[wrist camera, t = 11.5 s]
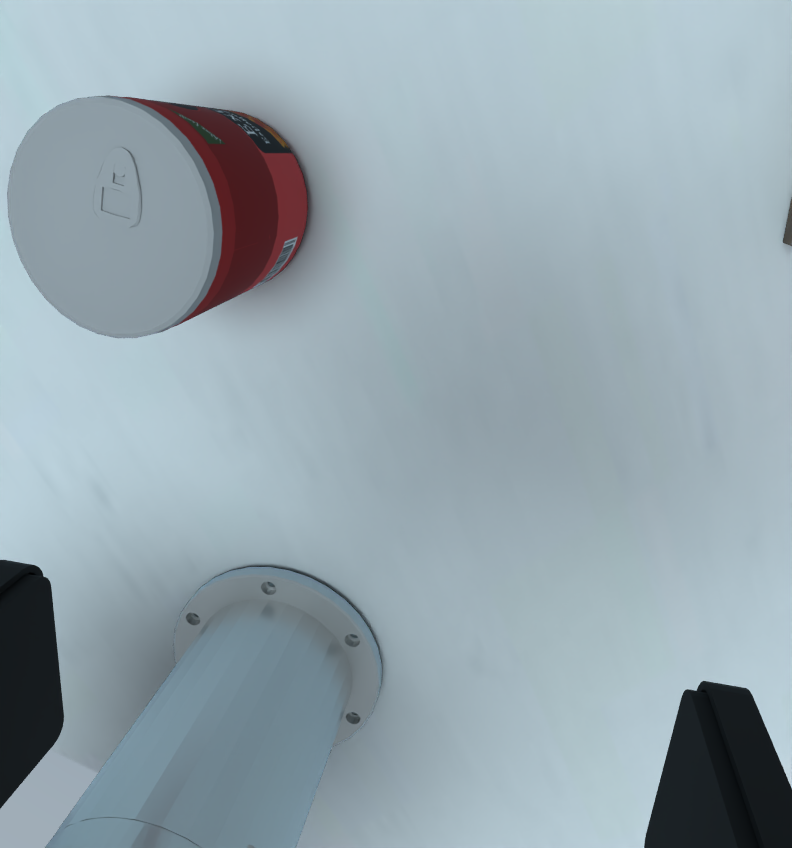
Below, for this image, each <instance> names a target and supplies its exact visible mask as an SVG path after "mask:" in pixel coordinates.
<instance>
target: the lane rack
mask: <svg viewBox="0 0 792 848" xmlns="http://www.w3.org/2000/svg"><path fill="white" fill-rule="evenodd" d="M783 243H786V244H788V245H791V246H792V199H791V204H790V209H789V214H788V219H787V224H786V229H785V235H784V240H783Z"/></svg>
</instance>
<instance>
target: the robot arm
mask: <svg viewBox="0 0 792 848" xmlns="http://www.w3.org/2000/svg"><path fill="white" fill-rule="evenodd" d="M173 646H174V655H175V662H176V666H175V667H174V669H173V670H172V671H171V673H170V674H169V676H168V677H167V678H166V680H165V681H164V683H163V684H162V685H161V687H160V688H159V689H158V691H157V692H156V694H155V695H154V696H153V698H152V699H151V701H150V702H149V703H148V705H147V706H146V708H145V709H144V710H143V712H142V713H141V715H140V716H139V717H138V719H137V720H136V721H135V723H134V724H133V726H132V727H131V728H130V730H129V731H128V733H127V734H126V735H125V737H124V738H123V740H122V741H121V742H120V744H119V745H118V747H117V748H116V749H115V751H114V752H113V753H112V755H111V756H110V758H109V759H108V760H107V762H106V763H105V765H104V766H103V767H102V769H101V770H100V772H99V773H98V774H97V776H96V777H95V779H94V780H93V781H92V783H91V784H90V786H89V787H88V788H87V790H86V791H85V793H84V794H83V795H82V797H81V798H80V799H79V801H78V802H77V804H76V805H75V806H74V808H73V809H72V811H71V812H70V814H69V815H68V816H67V818H66V819H65V820H64V822H63V823H62V825H61V827H60V828H59V829H58V831H57V832H56V834H55V835H54V836H53V838H52V839H51V840H50V842H49V843H48V844H47V846H46V847H45V848H296V846H297V843H298V840H299V837H300V835H301V832H302V829H303V826H304V823H305V821H306V818H307V815H308V812H309V809H310V807H311V804H312V801H313V798H314V796H315V793H316V790H317V787H318V784H319V782H320V779H321V776H322V773H323V770H324V768H325V765H326V762H327V759H328V756H329V754H330V751H331V748H332V747H333V746H336V745H338V744H340V743H341V742H343V741H345V740H347V739H349V738H351V737H352V736H353V735H354V734H355V733H356V732H357V731H359V730H360V729H361V728H362V727H363V726H364V724H365V723H366V721H367V720H368V718H369V717H370V716H371V714H372V712H373V709H374V706H375V704H376V701H377V698H378V694H379V690H380V686H381V682H382V664H381V659H380V655H379V650H378V647H377V644H376V642H375V640H374V638H373V635H372V633H371V631H370V629H369V628H368V626H367V625H366V623H365V622H364V621H363V619H362V618H361V616H360V615H359V614H358V613H357V611H356V610H355V609H354V608H353V607H352V606H351V605H350V604H349V603H348V602H347V601H346V600H345V599H343V598H342V597H341V596H339V595H338V594H337V593H335V592H334V591H333V590H331V589H330V588H329V587H327V586H325V585H323V584H321V583H319V582H318V581H316V580H314V579H312V578H310V577H307V576H304V575H301V574H298V573H295V572H292V571H289V570H284V569H278V568H272V567H247V568H242V569H237V570H232V571H229V572H227V573H224V574H222V575H220V576H217V577H215V578H213V579H212V580H210V581H209V582H208V583H206V584H205V585H203V586H202V587H201V588H200V589H199V590H198V591H197V592H196V594H195V595H194V596H193V597H192V598H191V599H190V601H189V602H188V603H187V605H186V606H185V607H184V609H183V610H182V612H181V614H180V616H179V619H178V622H177V625H176V628H175V634H174V644H173ZM63 722H64V713H63V703H62V693H61V683H60V673H59V662H58V652H57V642H56V632H55V621H54V611H53V601H52V591H51V584H50V581H49V580H48V578H46V577H43V573H42V571H41V570H40V568H39V567H37V566H35V565H30V564H24V563H19V562H13V561H7V560H0V808H1V807H2V806H3V805H4V803H5V802H6V801H7V800H8V798H9V797H10V796H11V795H12V794H13V793H14V791H15V790H16V789H17V788H18V787H19V785H20V784H21V783H22V782H23V781H24V779H25V778H26V777H27V776H28V774H30V772H31V771H32V770H33V769H34V768H35V766H36V765H37V764H38V762H40V760H41V759H42V758H43V757H44V755H45V754H46V753H47V752H48V751H49V750H50V748H51V747H52V746H53V745H54V743H55V742H56V741H57V739H58V737H59V735H60V733H61V730H62V727H63ZM644 848H792V788H791V786H790V784H789V781H788V779H787V777H786V774H785V772H784V769H783V767H782V765H781V762H780V760H779V758H778V755H777V753H776V750H775V748H774V746H773V743H772V741H771V739H770V736H769V734H768V732H767V729H766V727H765V724H764V722H763V720H762V717H761V715H760V713H759V710H758V708H757V705H756V703H755V701H754V698H753V696H752V694H751V693H750V691H749V690H748V689H746V688H742V687H736V686H730V685H724V684H718V683H713V682H707V681H703V682H701V683H700V685H699V686H698V689H697V691H694V690H688V689H687V690H685V691H684V693H683V695H682V698H681V702H680V706H679V710H678V714H677V718H676V721H675V725H674V729H673V733H672V737H671V741H670V744H669V748H668V752H667V756H666V760H665V764H664V768H663V771H662V775H661V779H660V783H659V787H658V791H657V794H656V798H655V802H654V806H653V810H652V814H651V818H650V821H649V825H648V829H647V833H646V838H645V846H644Z"/></svg>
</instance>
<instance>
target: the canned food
mask: <svg viewBox="0 0 792 848" xmlns="http://www.w3.org/2000/svg"><path fill="white" fill-rule="evenodd" d="M7 199H8V218H9V223H10V228H11V233H12V238H13V241H14V244H15V246H16V249H17V252H18V255H19V257H20V260H21V262H22V264H23V266H24V268H25V269H26V271H27V273H28V275H29V277H30V279H31V280H32V282H33V283H34V285H35V286H36V287H37V288H38V290H39V291H40V292H41V294H42V295H43V296H44V298H45V299H46V300H47V301H48V302H49V303H50V304H51V305H52V306H54V307H55V308H56V309H57V310H58V311H59V312H60V313H61V314H62V315H64V316H65V317H67V318H68V319H70V320H71V321H73V322H74V323H76V324H77V325H79V326H81V327H83V328H85V329H88V330H90V331H92V332H95V333H97V334H101V335H105V336H110V337H115V338H138V337H142V336H146V335H151V334H155V333H159V332H163V331H165V330H167V329H169V328H171V327H174V326H177V325H179V324H181V323H183V322H185V321H187V320H189V319H191V318H193V317H195V316H197V315H199V314H201V313H203V312H205V311H207V310H209V309H211V308H213V307H215V306H218V305H220V304H222V303H224V302H226V301H228V300H230V299H232V298H234V297H236V296H238V295H240V294H242V293H244V292H246V291H248V290H250V289H252V288H254V287H256V286H258V285H260V284H262V283H264V282H266V281H268V280H270V279H272V278H273V277H274V276H276V275H277V274H278V273H279V272H281V271H282V270H283V269H284V268H285V267H286V265H287V264H288V263H289V262H290V260H291V259H292V258H293V256H294V255H295V253H296V251H297V249H298V247H299V245H300V243H301V240H302V236H303V233H304V230H305V226H306V220H307V211H308V202H307V190H306V186H305V182H304V177H303V174H302V172H301V169H300V167H299V165H298V162H297V160H296V158H295V156H294V155H293V153H292V152H291V150H290V149H289V147H288V146H287V144H286V143H285V141H284V140H283V139H282V138H281V137H280V136H279V135H278V134H277V133H276V132H275V131H274V130H273V129H272V128H270V127H269V126H267V125H266V124H264V123H263V122H261V121H260V120H259V119H256V118H254V117H252V116H249V115H247V114H244V113H240V112H235V111H229V110H222V109H214V108H206V107H199V106H191V105H184V104H176V103H168V102H161V101H153V100H145V99H138V98H130V97H116V96H96V97H87V98H77V99H74V100H71V101H69V102H66V103H63V104H60V105H58V106H56V107H55V108H53V109H52V110H50V111H49V112H47V113H46V114H44V115H43V116H41V117H40V118H39V120H38V121H37V122H36V123H35V124H34V125H33V126H32V127H31V128H30V129H29V130H28V132H27V133H26V135H25V137H24V139H23V140H22V142H21V144H20V146H19V147H18V149H17V152H16V155H15V158H14V161H13V164H12V167H11V170H10V176H9V184H8V192H7Z"/></svg>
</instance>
